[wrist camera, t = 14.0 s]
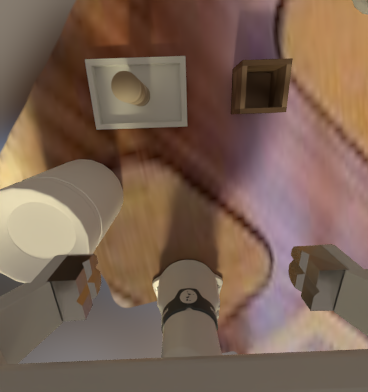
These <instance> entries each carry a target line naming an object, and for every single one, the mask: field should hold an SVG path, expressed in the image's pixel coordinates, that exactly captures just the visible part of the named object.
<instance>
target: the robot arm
mask: <svg viewBox="0 0 368 392" xmlns="http://www.w3.org/2000/svg"><path fill="white" fill-rule="evenodd" d="M291 256H292V257H293V259H294V260H293V261H292V262H291V263H290V264H289V276H290V280H291V282H292V284H293V285H294V287H295V288H296V289H298V290H299V291H301V292H302V293H301V297H302V299H303V300H304V302H305V303H306V305H307V306H308V308H309V309H310V311H334V312H335V313H336V314H338V315H339V316H341V317H342V318H343V319H345V320H346V321H347V322H349V323H350V324H352V325H353V326H354V327H356V328H357V329H359V330H360V331H361V332H363V333H364V334H365V335H367V336H368V269H363V268H362V267H361V266H359V265H358V264H357V263H356V262H354V261H353V260H352V259H351V258H350V257H348V256H347V255H346V254H345V253H343V252H342V251H341V250H340V249H339V248H337V247H336V246H335V245H332V244H325V245H314V246H295V247H293V249H292V252H291ZM97 264H98V260H97V256H96V255H95V254H70V255H69V254H64V255H56V256H54V257H53V259H52V260H51V261H50V262H49V263H48V264H47V265H46V266H45V267H44V268H43V270H42V271H41V272H40V273H39V274H38V275H37V276H36V277H35V278H34V279H33V281H32V282H31V283H25V284H23V285H21V286H19V287H17V288H16V289H14V290H12V291H10V292H8V293H6V294H4V295H2V296H1V297H0V392H368V349H358V350H334V351H311V352H287V353H263V354H239V355H222V353H221V349H220V345H219V340H218V335H217V330H218V321H217V319H218V318H219V311H218V310H219V309H220V298H219V294H220V291H221V287H222V283H223V281H222V278H221V277H220V276H218V275H216V274H214V273H213V272H212V271H211V270H210V268H209V267H208V266H206V265H205V264H203V263H201V262H199V261H195V260H181V261H177V262H175V263H173V264H171V265H170V266H168V267H167V268H166V269H165V270H164V272H163V273H162V275H161V276H159V277H157V278H156V279H154V280H153V288H154V291H155V294H156V297H157V306H158V307H159V310H160V312H161V314H162V322H161V324H162V333H163V342H162V355H161V358H145V359H121V360H97V361H77V362H76V361H74V362H50V363H28V364H26V363H25V364H18V363H19V362H20V361H21V360H22V359H23V358H25V357H26V356H27V355H28V354H29V353H30V352H31V351H32V350H33V349H34V348H35V347H36V346H37V345H39V344H40V343H41V342H42V341H43V340H44V339H45V338H46V337H47V336H49V335H50V334H51V333H52V332H53V331H54V330H55V329H56V328H57V327H58V326H59V325H61V324H62V322H63V321H76V320H86V318H87V316H88V314H89V312H90V310H91V308H92V305H93V304H92V299H93V298H95V297H96V296H97V294H98V292H99V290H100V285H101V274H100V271H99V270H98V269H97V268H96V266H97ZM217 284H218V285H217Z"/></svg>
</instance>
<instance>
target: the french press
mask: <svg viewBox="0 0 368 392" xmlns="http://www.w3.org/2000/svg"><path fill="white" fill-rule="evenodd" d="M352 1H353V3H354V6H355V8H357V9H358V10H359V11H360V12H361V13H363V14H368V0H352Z"/></svg>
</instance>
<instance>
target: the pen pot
mask: <svg viewBox="0 0 368 392" xmlns="http://www.w3.org/2000/svg"><path fill="white" fill-rule="evenodd" d="M291 67H292V59H263V60H242V61H241V62H240V63H239V64H238V65H237V66H236V67H235V68H234V69H233V74H232V99H231V114H250V113H276V112H286V108H287V100H288V91H289V83H290V75H291Z"/></svg>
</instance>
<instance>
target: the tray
mask: <svg viewBox="0 0 368 392" xmlns="http://www.w3.org/2000/svg"><path fill="white" fill-rule="evenodd" d="M85 65H86V71H87V77H88V83H89V89H90V95H91V101H92V107H93V113H94V119H95V125H96V130H100V129H129V128H157V127H185V126H187V93H186V56H168V57H138V58H108V59H85ZM120 71H128V72H131V73H132V74H134V75H135V76H136V77H137V78H138V79H139V80H140V81H141V82H142V83H143V84H144V85H145V86H146V87H147V88H148V89H149V92H150V100H149V102H148V103H147V104H146V105H144V106H137V105H133V104H130V103H126V102H123V101H120V100H119V99H117V98H116V97H115V95H114V94H113V92H112V88H111V82H112V79H113V77H114V75H115V74H116V73H118V72H120Z"/></svg>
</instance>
